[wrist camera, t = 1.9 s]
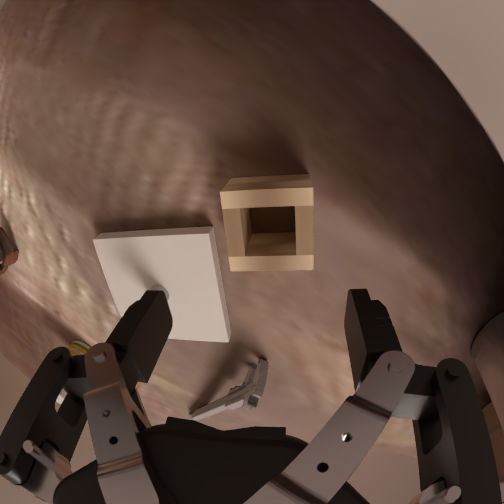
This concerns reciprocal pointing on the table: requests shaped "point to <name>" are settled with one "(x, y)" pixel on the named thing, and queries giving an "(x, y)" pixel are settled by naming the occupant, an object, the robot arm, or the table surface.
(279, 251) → the hollow block
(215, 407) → the caliper
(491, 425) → the binoculars
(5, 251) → the brown curved piece
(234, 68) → the table surface
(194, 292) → the peg base plate
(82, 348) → the supplement bottle
